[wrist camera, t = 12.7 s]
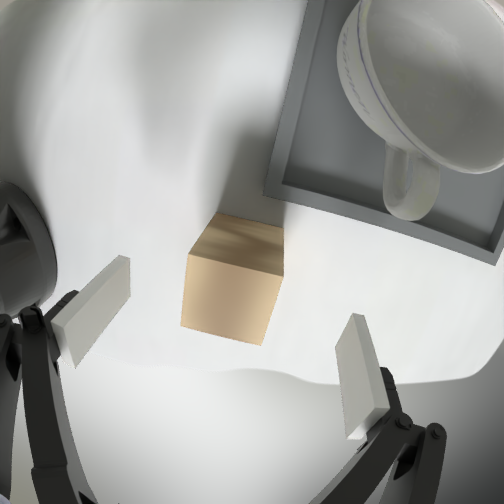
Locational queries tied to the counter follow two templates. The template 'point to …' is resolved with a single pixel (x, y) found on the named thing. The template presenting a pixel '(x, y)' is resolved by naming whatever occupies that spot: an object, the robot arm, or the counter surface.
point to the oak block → (233, 278)
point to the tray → (366, 155)
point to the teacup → (426, 90)
